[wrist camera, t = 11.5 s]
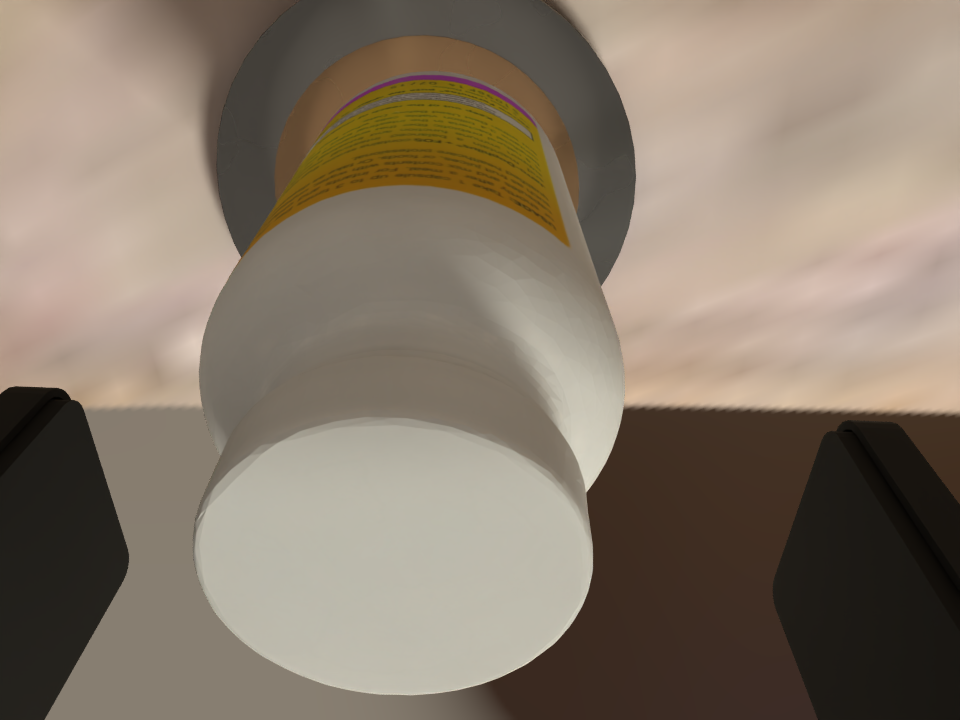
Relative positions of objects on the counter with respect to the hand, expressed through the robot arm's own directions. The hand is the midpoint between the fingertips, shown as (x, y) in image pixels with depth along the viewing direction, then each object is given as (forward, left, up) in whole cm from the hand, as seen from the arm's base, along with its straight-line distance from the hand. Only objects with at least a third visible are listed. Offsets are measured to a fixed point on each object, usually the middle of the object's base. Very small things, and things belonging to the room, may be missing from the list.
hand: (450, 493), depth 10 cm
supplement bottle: (+1, 0, -12) cm, 12 cm away
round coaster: (+1, 0, -12) cm, 12 cm away
